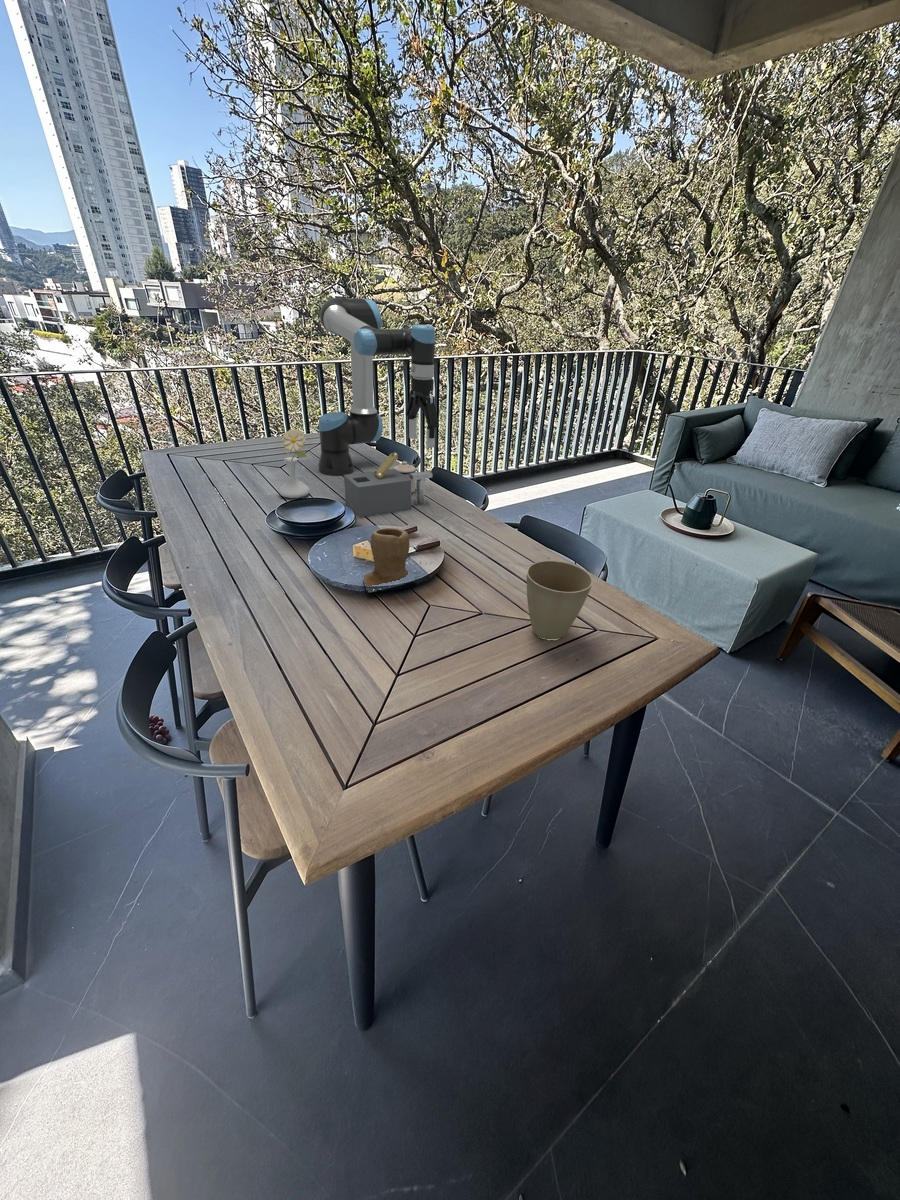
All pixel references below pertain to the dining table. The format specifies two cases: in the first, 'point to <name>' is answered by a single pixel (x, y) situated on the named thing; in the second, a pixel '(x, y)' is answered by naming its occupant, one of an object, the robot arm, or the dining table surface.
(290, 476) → the flower in vase
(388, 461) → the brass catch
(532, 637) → the dining table surface
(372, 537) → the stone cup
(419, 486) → the steel pin
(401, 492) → the post block
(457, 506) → the dining table surface
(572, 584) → the plant pot
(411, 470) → the teacup with lid
